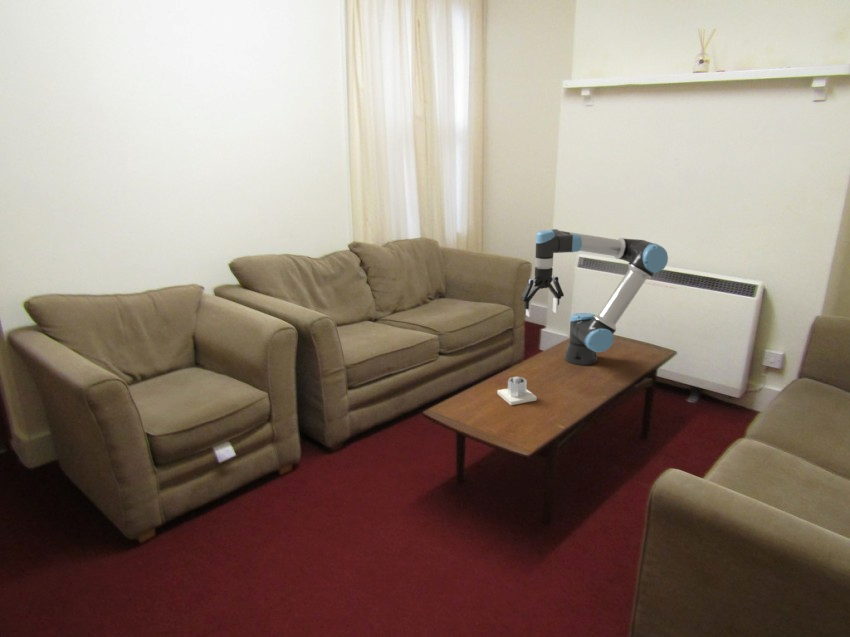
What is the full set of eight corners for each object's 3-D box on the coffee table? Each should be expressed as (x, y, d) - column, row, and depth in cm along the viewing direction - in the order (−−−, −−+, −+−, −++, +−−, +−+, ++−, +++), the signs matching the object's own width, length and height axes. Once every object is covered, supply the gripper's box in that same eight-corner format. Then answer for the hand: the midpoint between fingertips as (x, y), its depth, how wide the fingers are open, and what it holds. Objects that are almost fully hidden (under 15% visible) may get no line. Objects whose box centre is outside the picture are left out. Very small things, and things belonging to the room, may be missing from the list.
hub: (520, 388, 240) (520, 375, 239) (528, 395, 234) (529, 382, 232) (505, 391, 238) (505, 378, 236) (513, 398, 232) (513, 385, 230)
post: (522, 388, 244) (522, 370, 241) (536, 400, 233) (537, 381, 230) (497, 393, 240) (497, 375, 237) (510, 405, 229) (511, 386, 227)
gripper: (563, 262, 251) (561, 308, 257) (513, 268, 243) (512, 315, 249) (573, 266, 244) (570, 312, 250) (522, 271, 236) (521, 320, 242)
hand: (541, 314), depth 250 cm, fingers open, 13 cm apart
